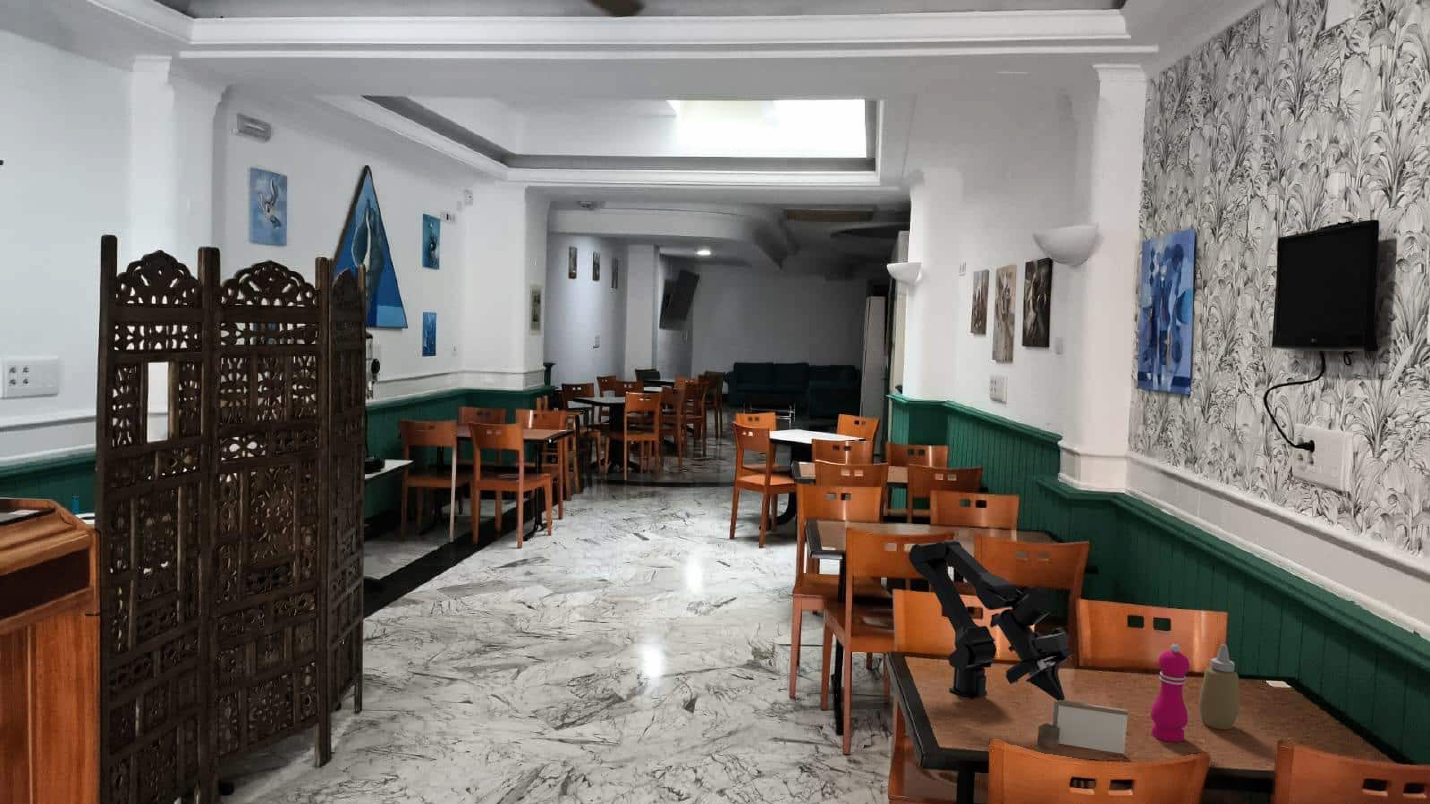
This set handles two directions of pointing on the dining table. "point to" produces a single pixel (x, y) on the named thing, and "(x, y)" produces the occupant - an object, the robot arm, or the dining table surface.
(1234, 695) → the squeeze bottle
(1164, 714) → the pepper mill
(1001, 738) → the dining table surface
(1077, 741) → the gate
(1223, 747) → the dining table surface
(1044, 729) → the gate frame
